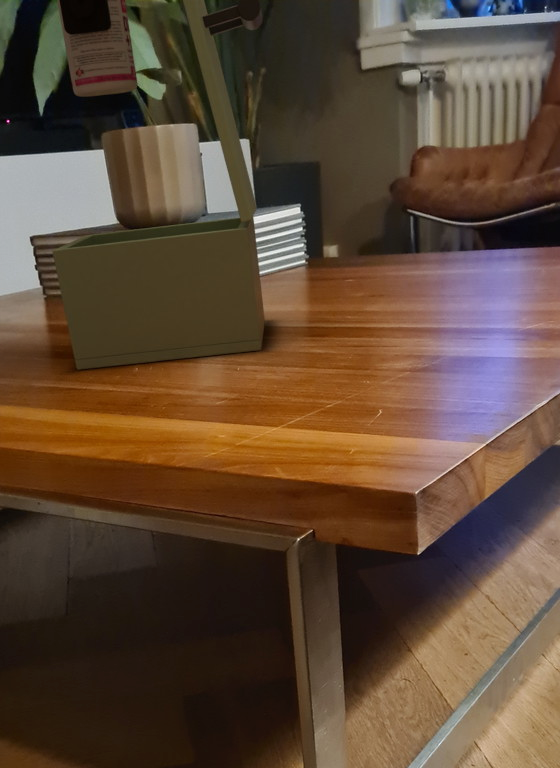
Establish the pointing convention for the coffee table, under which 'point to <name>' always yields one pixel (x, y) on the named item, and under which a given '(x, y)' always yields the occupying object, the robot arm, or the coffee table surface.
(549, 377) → the coffee table surface
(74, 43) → the pill bottle
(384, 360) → the coffee table surface
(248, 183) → the lid
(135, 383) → the coffee table surface
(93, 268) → the bin
